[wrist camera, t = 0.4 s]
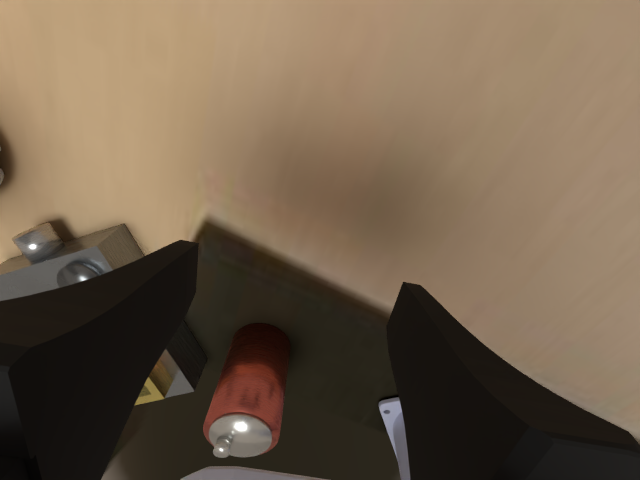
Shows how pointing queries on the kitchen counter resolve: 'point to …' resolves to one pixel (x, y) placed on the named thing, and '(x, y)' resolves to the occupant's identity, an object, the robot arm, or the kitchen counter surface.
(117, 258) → the grey socket block
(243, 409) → the red metal cylinder
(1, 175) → the bottle
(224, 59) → the kitchen counter surface
